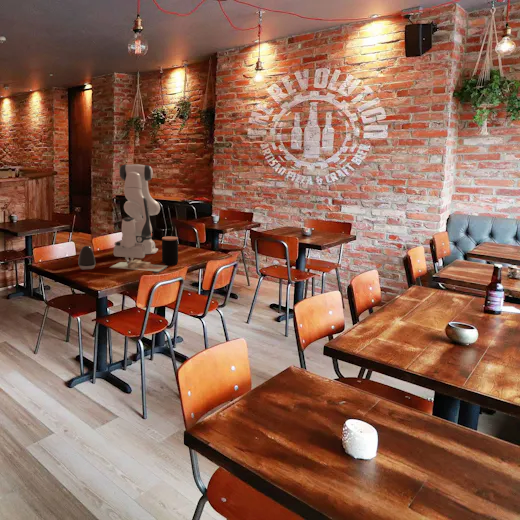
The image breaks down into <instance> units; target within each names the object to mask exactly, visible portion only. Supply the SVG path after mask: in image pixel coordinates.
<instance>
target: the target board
mask: <svg viewBox="0 0 520 520" xmlns="http://www.w3.org/2000/svg"><path fill="white" fill-rule="evenodd" d="M168 266H169V265H165V264H152V263H151V267H149V268H141V267H136V268H134V269H133V268H128V264H127V261H119V262H117V263H116V264H112V265H111V266H109V268H111V269H124V270H136V271H138V270H139V271H150V272H151V273H152V274H160V273H161V272H163V271H164V269H165V270H166V269H168V268H169V267H168ZM167 267H168V268H167ZM159 272H160V273H159Z"/></svg>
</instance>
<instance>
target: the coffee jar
mask: <svg viewBox="0 0 520 520" xmlns="http://www.w3.org/2000/svg"><path fill="white" fill-rule="evenodd" d="M161 240H162V241H161V263H162V264H164V265H166V266H176V265H178V263H179V241H178V240H179V237H178V236H167V235H166V236H163V237H162V238H161Z"/></svg>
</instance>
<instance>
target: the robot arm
mask: <svg viewBox="0 0 520 520" xmlns="http://www.w3.org/2000/svg"><path fill="white" fill-rule="evenodd" d="M118 174H119V177H120V179H121V180H123V181H124V186H123V187H124V190H123V191H124V192H123V193H124V196H125V197H124V198H125V199H126V200H127V201H125V203H124V204H123V210H124V212H125V213H126V214H127V215H128V216H127V217H124V218H122V219H121V234H122V236H121V239H120V240H118V241H115V242H114V247H113V255H114V256H113V257H117V258H119V257H120V258H121V257H122V258H124V259H125V262H127V264H128V263H130V262H132V261H134V260H135V259H144V258H145V257H146V255H152V254H153V255H154V254H156V253H157V252H158V251H159V248H157V247H156V243H155V241H154V240H153V239H152V237H153V233H152V232H153V227H152V222H151V216H156V215H157V216H158V214H159V213H160V211H161V205H160V203H159V202H158V201H156V199H154V198H153V197H152V196H151V194H150V190H149V189H150V188H149V182H148V181H151V180H152V179H153V176H154V171H153V168H152V166H150V165H149V164H148V165H147V164H138V163H135V164H127V163H125V164H122V165H121V166H120V168H119V171H118ZM129 258H130V259H129Z"/></svg>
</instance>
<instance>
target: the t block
mask: <svg viewBox="0 0 520 520" xmlns="http://www.w3.org/2000/svg"><path fill="white" fill-rule="evenodd" d="M151 264H152V263H151V261H142V259H133V261H132V262H130V263H128V268H133V269H132V270H134V268H136V267H141V268H149V267H151Z"/></svg>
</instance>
